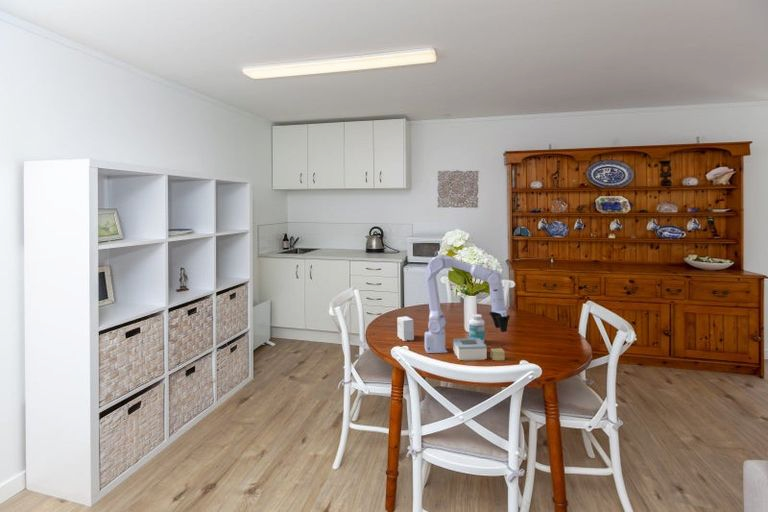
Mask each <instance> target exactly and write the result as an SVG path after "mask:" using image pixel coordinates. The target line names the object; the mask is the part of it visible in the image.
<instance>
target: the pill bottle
mask: <svg viewBox="0 0 768 512" xmlns="http://www.w3.org/2000/svg"><path fill="white" fill-rule="evenodd" d="M468 321H469V322H468V338H480V339H481V340H482V342H483V343H484V344H485V328H486V327H485V325H486V322H485V320H484V319H483V315H482V314H481V313H474V314H472V315H471V319H469V320H468Z"/></svg>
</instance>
